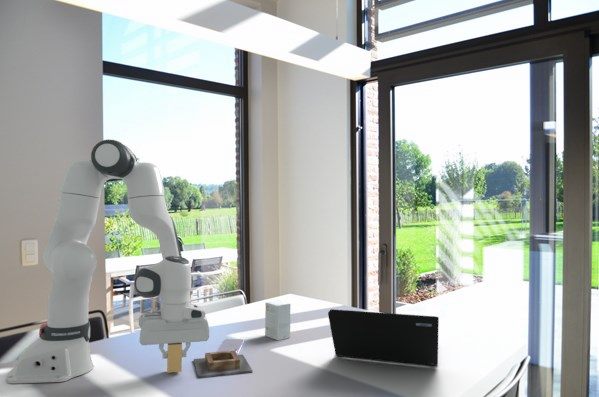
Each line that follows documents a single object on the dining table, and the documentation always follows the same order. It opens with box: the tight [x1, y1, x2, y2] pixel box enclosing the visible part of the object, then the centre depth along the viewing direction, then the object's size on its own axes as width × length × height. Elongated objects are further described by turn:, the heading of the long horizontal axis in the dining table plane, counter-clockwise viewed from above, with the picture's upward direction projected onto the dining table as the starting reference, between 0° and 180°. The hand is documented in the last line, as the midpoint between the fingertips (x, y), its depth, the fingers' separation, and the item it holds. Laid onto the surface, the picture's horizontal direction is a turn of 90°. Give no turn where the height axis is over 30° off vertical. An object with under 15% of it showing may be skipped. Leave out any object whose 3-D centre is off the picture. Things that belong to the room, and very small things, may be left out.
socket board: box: [193, 350, 253, 379], centre depth 143 cm, size 16×15×3 cm
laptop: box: [327, 309, 440, 366], centre depth 154 cm, size 33×38×19 cm
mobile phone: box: [216, 338, 245, 355], centre depth 162 cm, size 8×1×15 cm
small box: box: [264, 300, 291, 341], centre depth 175 cm, size 8×6×13 cm
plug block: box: [166, 343, 183, 373], centre depth 137 cm, size 4×4×8 cm
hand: (174, 357), depth 137 cm, fingers closed on plug block, 4 cm apart
